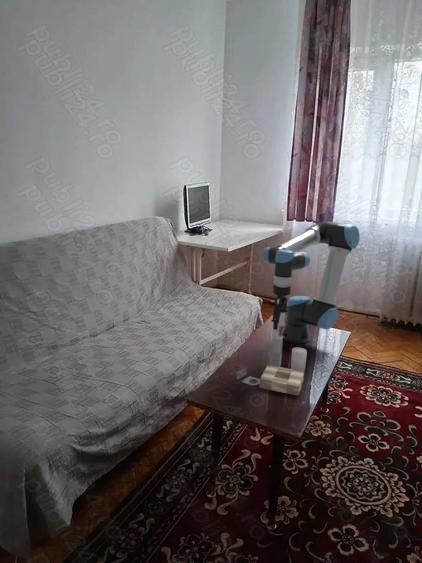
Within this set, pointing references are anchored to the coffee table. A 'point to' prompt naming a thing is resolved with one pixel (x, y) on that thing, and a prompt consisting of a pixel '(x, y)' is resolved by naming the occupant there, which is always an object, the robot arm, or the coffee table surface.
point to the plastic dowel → (298, 359)
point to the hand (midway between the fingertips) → (278, 330)
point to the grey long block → (276, 351)
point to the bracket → (248, 378)
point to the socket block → (282, 380)
